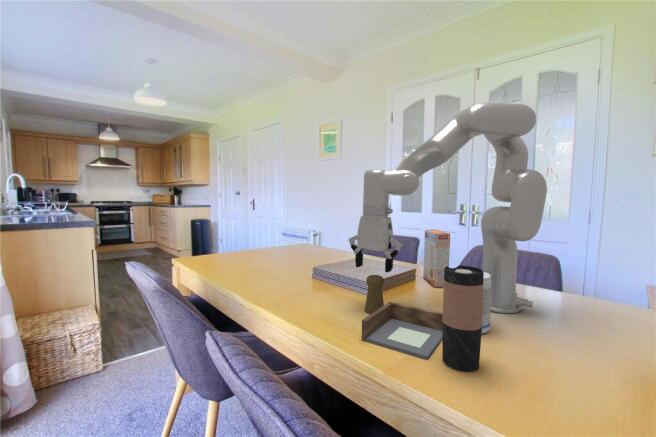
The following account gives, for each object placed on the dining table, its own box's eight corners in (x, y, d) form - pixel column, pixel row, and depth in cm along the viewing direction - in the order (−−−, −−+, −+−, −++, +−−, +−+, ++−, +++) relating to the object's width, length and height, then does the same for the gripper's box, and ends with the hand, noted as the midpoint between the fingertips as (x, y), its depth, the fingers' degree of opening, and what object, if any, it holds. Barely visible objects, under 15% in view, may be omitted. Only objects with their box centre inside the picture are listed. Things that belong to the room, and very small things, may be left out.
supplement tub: (479, 320, 89) (481, 269, 87) (497, 335, 79) (500, 278, 78) (444, 320, 88) (446, 269, 87) (458, 335, 79) (461, 278, 78)
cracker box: (449, 288, 119) (451, 233, 118) (433, 287, 119) (435, 233, 118) (437, 278, 133) (438, 229, 132) (422, 278, 133) (424, 229, 132)
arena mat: (447, 333, 80) (447, 329, 80) (427, 360, 67) (427, 355, 67) (388, 318, 90) (389, 315, 89) (361, 340, 76) (361, 336, 76)
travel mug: (477, 377, 61) (482, 275, 60) (437, 365, 65) (440, 270, 64) (482, 359, 68) (486, 267, 66) (445, 350, 72) (448, 263, 70)
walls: (447, 333, 80) (447, 314, 80) (427, 360, 67) (428, 337, 67) (388, 318, 90) (389, 301, 89) (361, 340, 76) (361, 320, 76)
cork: (384, 315, 92) (385, 278, 91) (363, 314, 93) (364, 277, 92) (385, 308, 98) (385, 273, 97) (365, 307, 99) (365, 272, 98)
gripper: (408, 213, 91) (405, 271, 92) (356, 210, 101) (354, 262, 102) (398, 214, 85) (395, 276, 86) (343, 211, 95) (342, 266, 96)
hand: (373, 269), depth 94 cm, fingers open, 9 cm apart
